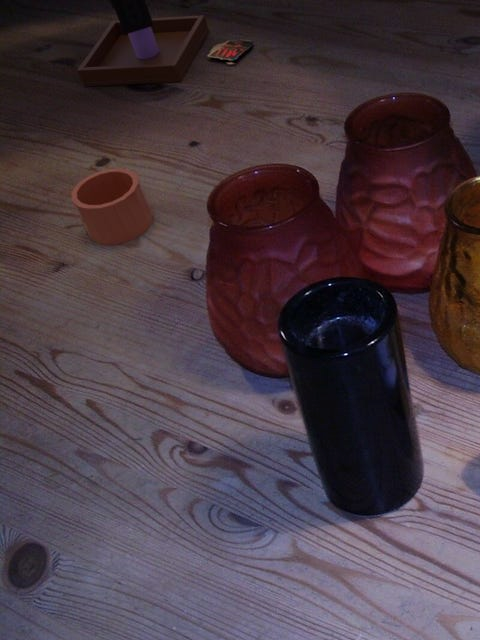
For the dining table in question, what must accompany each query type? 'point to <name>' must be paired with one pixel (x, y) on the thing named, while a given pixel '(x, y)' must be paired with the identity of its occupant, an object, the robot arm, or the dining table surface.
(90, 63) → the tray
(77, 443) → the dining table surface
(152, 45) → the glue stick
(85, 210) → the cup
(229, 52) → the matchbox
